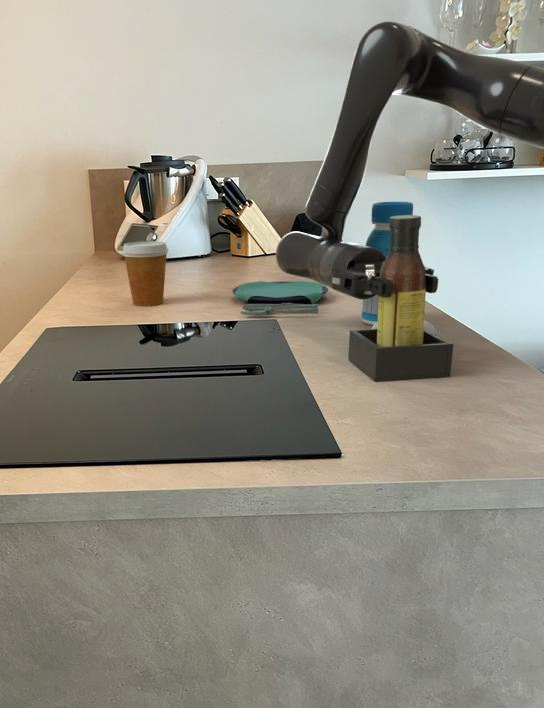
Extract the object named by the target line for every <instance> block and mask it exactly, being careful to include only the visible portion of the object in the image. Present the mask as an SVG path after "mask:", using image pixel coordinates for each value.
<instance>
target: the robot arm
mask: <svg viewBox="0 0 544 708" xmlns="http://www.w3.org/2000/svg"><path fill="white" fill-rule="evenodd" d="M392 96H403V97H411V98H414V99H419V100H423V101H427V102H430V103H435V104H438V105H441V106H445V107H447V108H449V109H451V110H453V111H455V112H456V113H458V114H459V115H461V116H463V118H466V119H468V120H469V121H470V122H472V123H474V124H476V125H478V126H479V127H482V128H484V130H485V129H486V130H487V131H490V132H492V133H494V134H496V135H499V136H502V137H505V138H507V139H509V140H512V141H515V142H518V143H521V144H524V145H528V146H531V147H535V148H539V149H543V150H544V68H543V67H540V66H536V65H533V64H529V63H525V62H523V61H522V62H521V61H518V60H513V59H508V58H502V57H496V56H489V55H479V54H473V53H469V52H467V51H463V50H461V49H458V48H456V47H453V46H451V45H448V44H447V43H444V42H442V41H440V40H438V39H435V38H434V37H432V36H430V35H428V34H426V33H424V32H422V31H420V30H419V29H417V28H415V27H413V26H410V25H406V24H403V23H400V22H396V21H392V20H391V21H387V20H386V21H382V22H379V23H377V24H375V25H373V26H371V27H370V28H369V29H368V30H367V31H366V32H365V33H364V34H363V36H362V37H361V39H360V40H359V43H358V44H357V47H356V50H355V52H354V56H353V59H352V64H351V67H350V71H349V75H348V81H347V85H346V88H345V92H344V96H343V99H342V103H341V107H340V111H339V114H338V117H337V121H336V125H335V128H334V131H333V134H332V137H331V141H330V143H329V146H328V149H327V152H326V155H325V156H324V157H325V158H324V160H323V162H322V165H321V168H320V170H319V172H318V175H317V177H316V180H315V182H314V185H313V187H312V189H311V192H310V195H309V197H308V200H307V202H306V204H305V209H304V213H305V216H306V217H307V218H308V219H309V220H310V221H311V222H312V223H314V224H316V225H318V226H320V227H321V229H322V230H321V235H320V236H318V235H313V234H309V233H305V232H301V231H290V232H289V233H287V234H285V235H284V236H282V238H281V239H280V240H279V242H278V243H277V246H276V249H275V260H276V264H277V266H278V268H279V269H280V270H281V271H282V272H283V273H285V274H287V275H292V276H296V277H301V278H305V279H308V280H313V281H314V282H316V283H320V284H322V285H323V286H326V287H328V288H330V289H332V290H334V291H336V292H338V293H341V294H343V295H347V296H349V297H352V298H355V299H357V300H363V299H369V298H372V297H374V296H376V295H379V296H382V297H391V293H392V281H391V280H388V279H385V278H381V277H380V270H381V266H382V264H383V262H384V261H385V259H386V256H385V255H384V254H383V253H382V252H381V251H380V250H378V249H376V248H372V247H368V246H365V245H363V244H359V243H355V242H343V237H344V231H345V226H346V222H347V218H348V216H349V214H350V211H351V209H352V207H353V205H354V202H355V201H356V198H357V196H358V194H359V191H360V189H361V186H362V183H363V181H364V177H365V173H366V170H367V165H368V160H369V159H368V158H369V154H370V148H371V144H372V139H373V136H374V133H375V130H376V128H377V125H378V122H379V120H380V117H381V115H382V113H383V111H384V109H385V108H386V106H387V104H388V103H389V101H390V99H391V98H392ZM424 267H425V276H426V293H428V294H435V293H437V290H438V287H439V278H438V277H437V276H436V275H434V274H435V269H433V268H431V267H428V266H425V265H424Z"/></svg>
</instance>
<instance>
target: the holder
mask: <svg viewBox="0 0 544 708" xmlns="http://www.w3.org/2000/svg"><path fill="white" fill-rule="evenodd" d="M453 352H454V343H453V342H451V341H449V340H447V339H445V338H443V337H441V336H439V335H438V334H436V333H435V334H434V333H432V332H430V331H428V330H426V329H424V333H423V344H422V345H407V346H391V347H379V346H378V345H377V329H371V328H367V329H364V328H363V329H351V330H349V341H348V359H347V360H348V362H350V363H351V364H352V365H354V367H356V368H357V369H358V370H359V371H361V372H362V373H364V374H365V375H366V376H367V377H368V378H369V379H371V380H372V381H373V382H375V383H376V382H390V381H404V380H405V381H406V380H419V379H420V380H421V379H435V378H448V377H449V378H450V377H451V373H452V363H453V354H454V353H453Z"/></svg>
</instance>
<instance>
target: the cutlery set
mask: <svg viewBox="0 0 544 708" xmlns="http://www.w3.org/2000/svg"><path fill="white" fill-rule="evenodd" d="M328 291H329V287H328V286H326V285H323V284H321V283H319V282H315V281H314V282H313V281H308V280H307V281H306V280H299V281H298V280H297V281H263V280H259V281H249V282H245V283H240V284H238V286H236V287H234V288H232V294H233V295H234V296H235V297H236V298H237V300H240V301H246V302H249V300H254V301H263V302H282V303H247V304H243V306H241V308H242V309H243V310H241V311H240V314H242V315H259V316H261V315H266V316H270V315H273V313H275V314H285V315H294V314H296V315H299V314H300V315H301V314H316V315H317V314H319V303H317V302H318V301H319V300H320V299H321V298H322V296H323V295H325V294H327V293H328ZM308 299H309V300H310V302H311V303H310V304H309V303H308V304H304V303H292V302H291V301H301V300H302V301H303V300H308ZM287 301H288V302H287ZM289 301H290V302H289Z"/></svg>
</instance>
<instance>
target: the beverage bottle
mask: <svg viewBox="0 0 544 708" xmlns="http://www.w3.org/2000/svg"><path fill="white" fill-rule="evenodd" d="M413 213H414V203H413V202H410V201H379V202H373V204H372V207H371V215H370V217H371V218H370V220H371V224H372V225H374V227H373V229H372V230H371V231H370V233H369V235H368V237H367V239H366V242H365V245H364V246H368V247H372V248H376V249H378V250H380V251H381V252H382V253H383V254H384V255H385V256H386V257H387V256H388V254H389V246H390V228H389V220H390V217H392V216H402V215H414V214H413ZM378 298H379V295H376V296H374V297H372V298H369V299H362V310H361V321H362V322H363V323H365V324H367V325H372V326H373V325H374V324H375V323H376V322H378Z"/></svg>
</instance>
